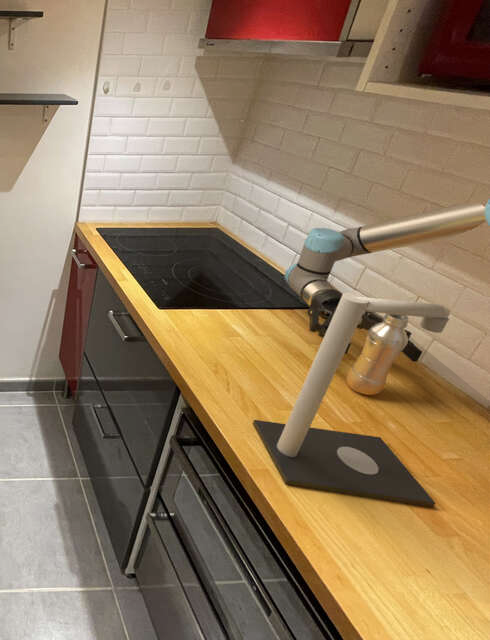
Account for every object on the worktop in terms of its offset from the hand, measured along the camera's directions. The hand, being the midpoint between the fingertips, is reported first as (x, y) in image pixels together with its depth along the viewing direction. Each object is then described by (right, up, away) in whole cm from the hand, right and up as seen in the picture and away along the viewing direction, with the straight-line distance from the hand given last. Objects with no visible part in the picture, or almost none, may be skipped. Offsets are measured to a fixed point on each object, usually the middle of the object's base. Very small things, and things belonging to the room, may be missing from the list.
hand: (382, 352), depth 97 cm
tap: (-21, -17, -13) cm, 30 cm away
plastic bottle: (0, -10, +5) cm, 11 cm away
